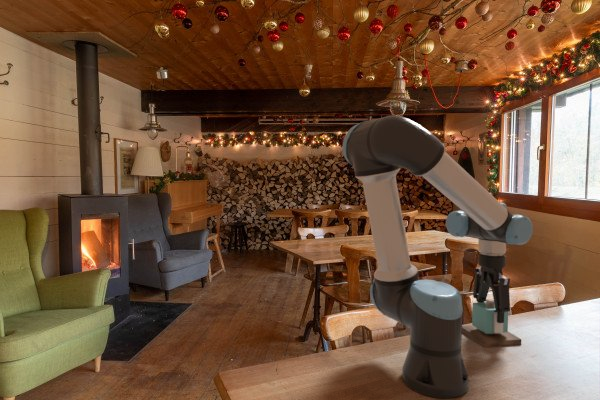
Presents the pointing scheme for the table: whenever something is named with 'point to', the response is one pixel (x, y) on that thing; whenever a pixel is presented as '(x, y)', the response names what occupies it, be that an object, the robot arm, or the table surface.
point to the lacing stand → (491, 338)
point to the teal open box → (486, 318)
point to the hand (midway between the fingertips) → (489, 327)
